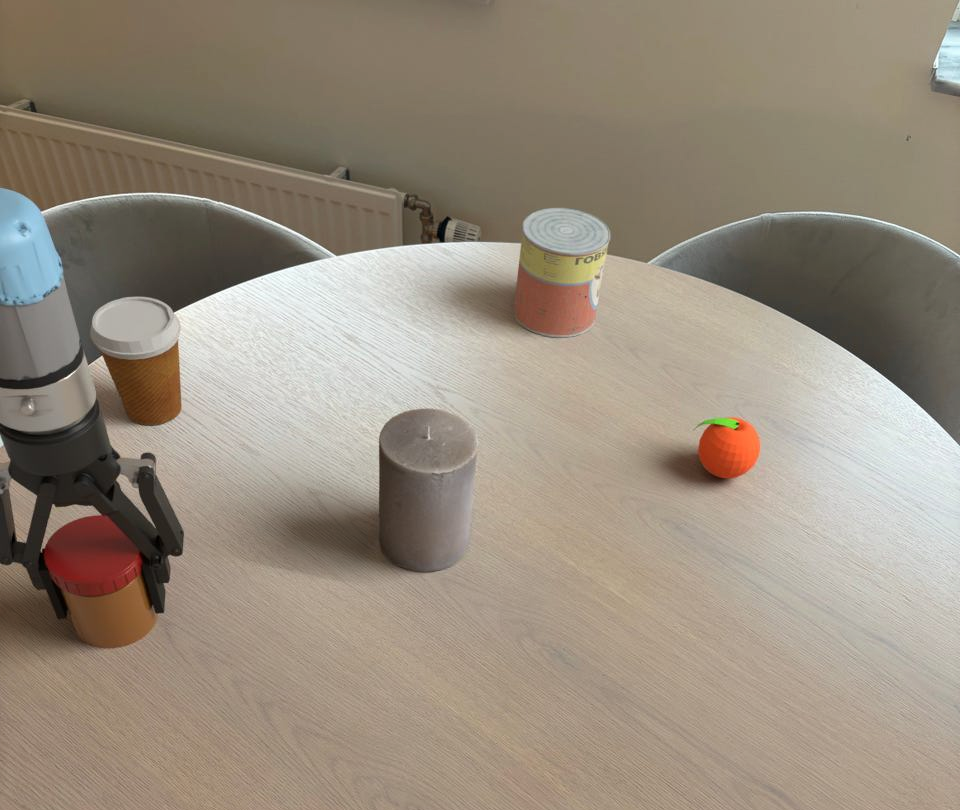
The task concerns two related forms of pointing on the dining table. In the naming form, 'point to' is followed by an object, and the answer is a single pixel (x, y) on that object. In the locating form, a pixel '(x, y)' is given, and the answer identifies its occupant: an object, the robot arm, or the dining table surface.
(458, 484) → the pillar candle
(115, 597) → the jam jar
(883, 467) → the dining table surface
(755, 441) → the clementine
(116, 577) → the lid
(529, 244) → the canned food
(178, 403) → the disposable coffee cup
